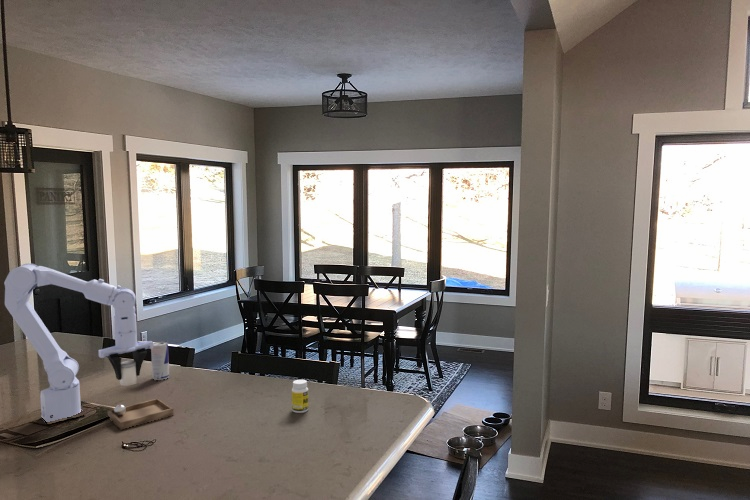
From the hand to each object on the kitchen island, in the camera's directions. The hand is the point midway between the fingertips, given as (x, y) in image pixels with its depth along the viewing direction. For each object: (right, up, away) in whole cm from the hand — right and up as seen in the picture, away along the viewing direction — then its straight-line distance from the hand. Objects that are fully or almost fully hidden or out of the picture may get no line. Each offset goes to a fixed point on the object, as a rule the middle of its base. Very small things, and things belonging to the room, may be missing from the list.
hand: (127, 376), depth 156 cm
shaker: (0, -2, 0) cm, 2 cm away
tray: (+6, -10, -6) cm, 13 cm away
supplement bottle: (+50, -9, -2) cm, 51 cm away
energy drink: (-1, -7, +27) cm, 28 cm away
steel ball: (+1, -8, -7) cm, 10 cm away
